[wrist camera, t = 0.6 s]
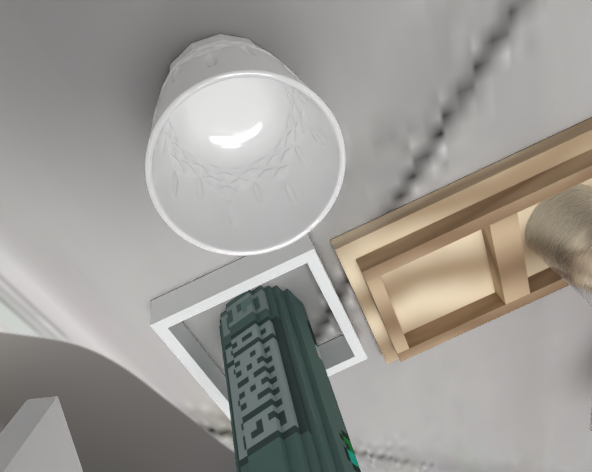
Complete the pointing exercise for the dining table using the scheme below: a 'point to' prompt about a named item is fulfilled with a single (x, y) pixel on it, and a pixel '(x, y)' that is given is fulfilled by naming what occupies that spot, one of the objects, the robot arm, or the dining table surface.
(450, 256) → the wooden tray
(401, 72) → the dining table surface
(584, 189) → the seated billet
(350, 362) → the frame
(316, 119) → the white cup
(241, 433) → the can
